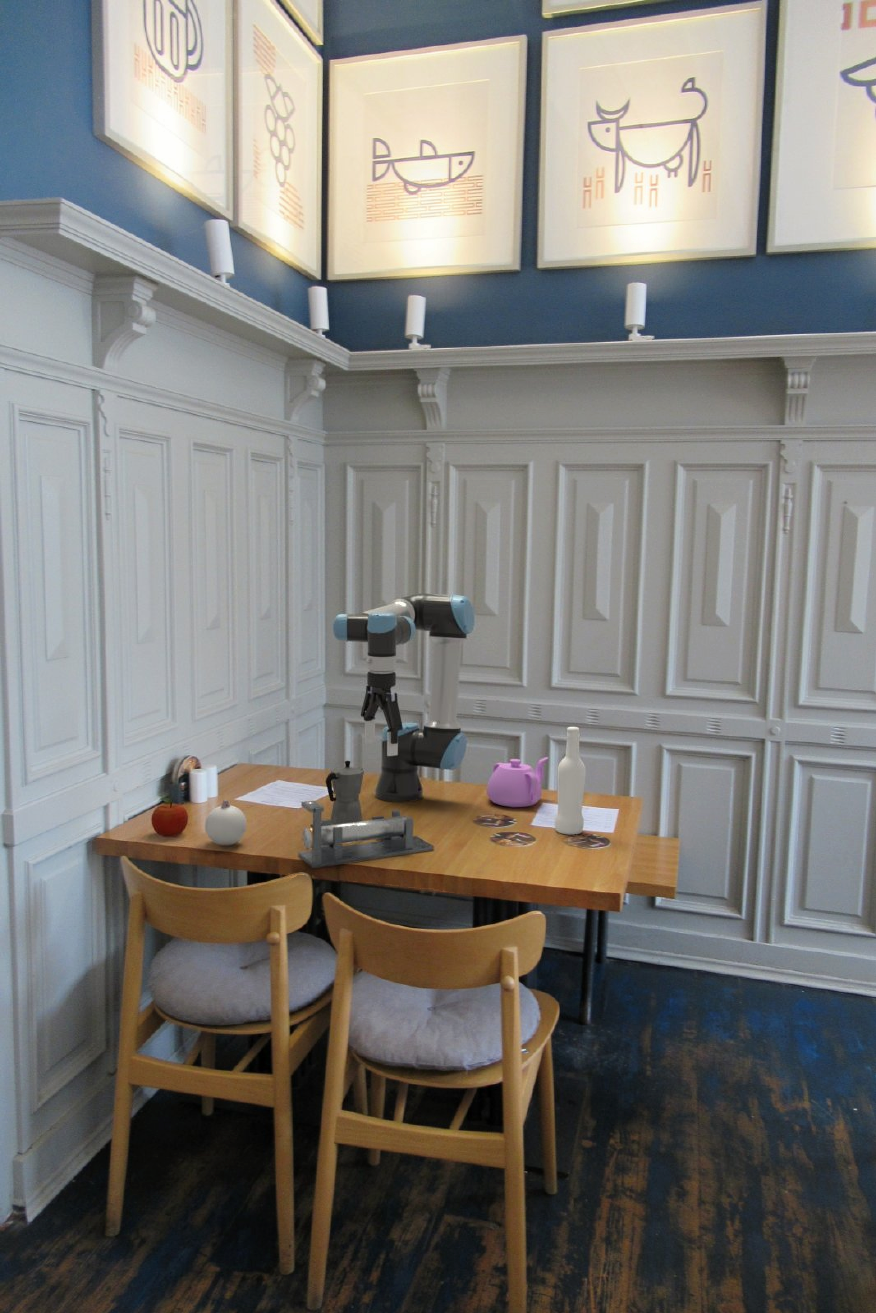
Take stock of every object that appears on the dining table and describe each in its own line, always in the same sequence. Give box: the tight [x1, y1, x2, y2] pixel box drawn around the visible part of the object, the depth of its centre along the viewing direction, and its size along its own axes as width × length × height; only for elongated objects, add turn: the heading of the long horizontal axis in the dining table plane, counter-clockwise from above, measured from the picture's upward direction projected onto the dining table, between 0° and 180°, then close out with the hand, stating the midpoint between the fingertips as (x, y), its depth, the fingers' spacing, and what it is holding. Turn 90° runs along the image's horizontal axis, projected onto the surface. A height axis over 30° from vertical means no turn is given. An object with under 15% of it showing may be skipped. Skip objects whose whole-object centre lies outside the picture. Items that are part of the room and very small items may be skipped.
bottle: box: [554, 726, 587, 836], centre depth 269 cm, size 8×8×30 cm
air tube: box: [302, 815, 409, 850], centre depth 244 cm, size 28×5×5 cm, turn 120°
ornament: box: [204, 799, 248, 846], centre depth 249 cm, size 10×10×12 cm
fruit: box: [151, 797, 189, 838], centre depth 255 cm, size 10×10×10 cm
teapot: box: [486, 756, 549, 809], centre depth 300 cm, size 22×22×14 cm
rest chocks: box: [310, 815, 391, 841], centre depth 254 cm, size 21×8×5 cm, turn 120°
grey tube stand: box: [297, 800, 435, 869], centre depth 244 cm, size 35×10×15 cm, turn 120°
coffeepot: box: [325, 760, 365, 825], centre depth 271 cm, size 15×9×18 cm, turn 145°
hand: (380, 749), depth 254 cm, fingers open, 13 cm apart
